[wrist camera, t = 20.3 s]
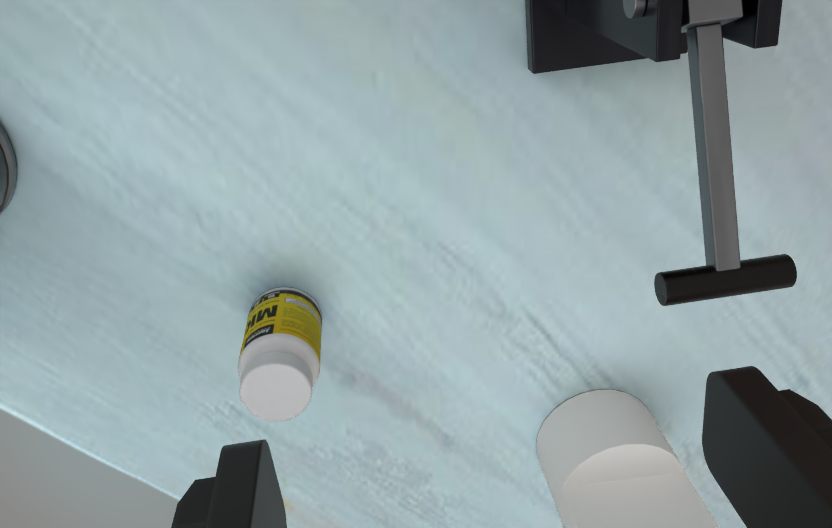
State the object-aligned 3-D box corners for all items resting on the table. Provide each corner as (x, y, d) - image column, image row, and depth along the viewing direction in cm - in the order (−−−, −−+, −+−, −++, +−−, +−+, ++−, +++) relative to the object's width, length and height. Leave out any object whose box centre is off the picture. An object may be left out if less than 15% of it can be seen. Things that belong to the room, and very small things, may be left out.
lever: (773, 282, 33) (804, 291, 31) (651, 300, 33) (673, 311, 30) (749, -46, 31) (781, -63, 29) (620, -29, 31) (640, -45, 28)
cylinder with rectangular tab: (657, 382, 54) (738, 502, 43) (648, 477, 58) (720, 608, 47) (536, 397, 53) (586, 522, 42) (535, 491, 57) (582, 627, 46)
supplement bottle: (274, 271, 47) (263, 342, 39) (336, 308, 48) (336, 382, 41) (234, 326, 48) (216, 404, 41) (295, 359, 50) (288, 440, 42)
